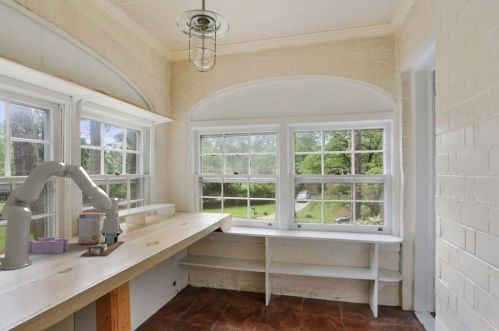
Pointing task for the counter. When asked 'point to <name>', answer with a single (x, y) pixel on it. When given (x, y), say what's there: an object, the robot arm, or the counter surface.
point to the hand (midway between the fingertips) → (111, 242)
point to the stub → (110, 238)
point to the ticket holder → (102, 249)
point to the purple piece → (48, 245)
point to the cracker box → (90, 228)
